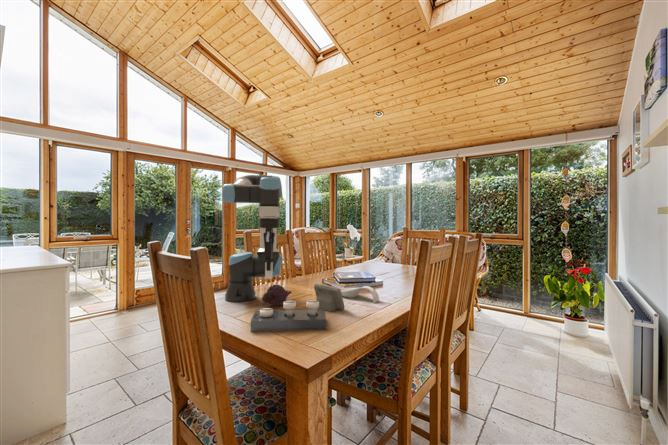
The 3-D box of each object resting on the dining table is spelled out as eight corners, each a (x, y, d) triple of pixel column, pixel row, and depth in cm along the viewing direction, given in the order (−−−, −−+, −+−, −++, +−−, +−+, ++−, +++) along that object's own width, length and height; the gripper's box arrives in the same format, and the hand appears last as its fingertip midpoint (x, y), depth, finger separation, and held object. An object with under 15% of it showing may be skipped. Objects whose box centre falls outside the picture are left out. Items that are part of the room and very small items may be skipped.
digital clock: (346, 310, 141) (346, 287, 140) (330, 314, 135) (331, 290, 135) (325, 302, 153) (325, 281, 153) (310, 305, 148) (310, 283, 148)
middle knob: (282, 318, 118) (283, 303, 118) (283, 314, 123) (283, 300, 123) (296, 318, 118) (296, 303, 118) (296, 314, 123) (296, 299, 123)
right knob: (306, 318, 119) (306, 303, 119) (306, 313, 124) (306, 299, 124) (319, 317, 119) (319, 302, 119) (318, 313, 124) (318, 299, 124)
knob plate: (250, 331, 113) (250, 321, 113) (255, 320, 125) (255, 311, 125) (326, 329, 116) (326, 319, 116) (323, 319, 128) (323, 309, 128)
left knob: (258, 326, 117) (258, 311, 117) (260, 322, 122) (260, 307, 122) (272, 326, 117) (272, 311, 117) (273, 321, 122) (273, 307, 122)
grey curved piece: (333, 296, 165) (333, 283, 165) (346, 292, 175) (346, 280, 174) (371, 305, 151) (371, 290, 150) (383, 300, 160) (383, 286, 160)
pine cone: (269, 312, 136) (269, 289, 136) (254, 308, 142) (254, 286, 142) (296, 303, 151) (296, 283, 151) (281, 299, 157) (281, 280, 156)
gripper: (277, 217, 113) (277, 282, 113) (280, 217, 126) (279, 275, 126) (257, 217, 112) (256, 282, 112) (261, 217, 125) (261, 275, 125)
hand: (268, 278), depth 119 cm, fingers closed
